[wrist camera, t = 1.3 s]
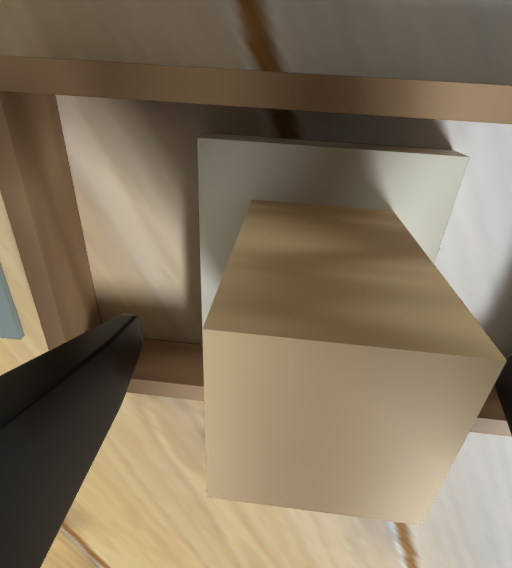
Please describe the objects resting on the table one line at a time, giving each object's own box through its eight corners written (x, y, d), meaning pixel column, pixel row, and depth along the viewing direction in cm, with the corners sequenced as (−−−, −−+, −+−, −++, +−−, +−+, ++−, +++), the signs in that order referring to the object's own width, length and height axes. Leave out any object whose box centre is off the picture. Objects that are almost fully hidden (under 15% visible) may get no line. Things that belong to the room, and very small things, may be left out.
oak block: (393, 210, 11) (506, 360, 5) (364, 326, 13) (419, 525, 7) (251, 199, 12) (202, 329, 5) (246, 314, 14) (206, 496, 8)
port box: (684, 97, 10) (791, 102, 8) (515, 392, 16) (550, 441, 14) (23, 58, 11) (-42, 53, 9) (89, 346, 17) (59, 384, 15)
